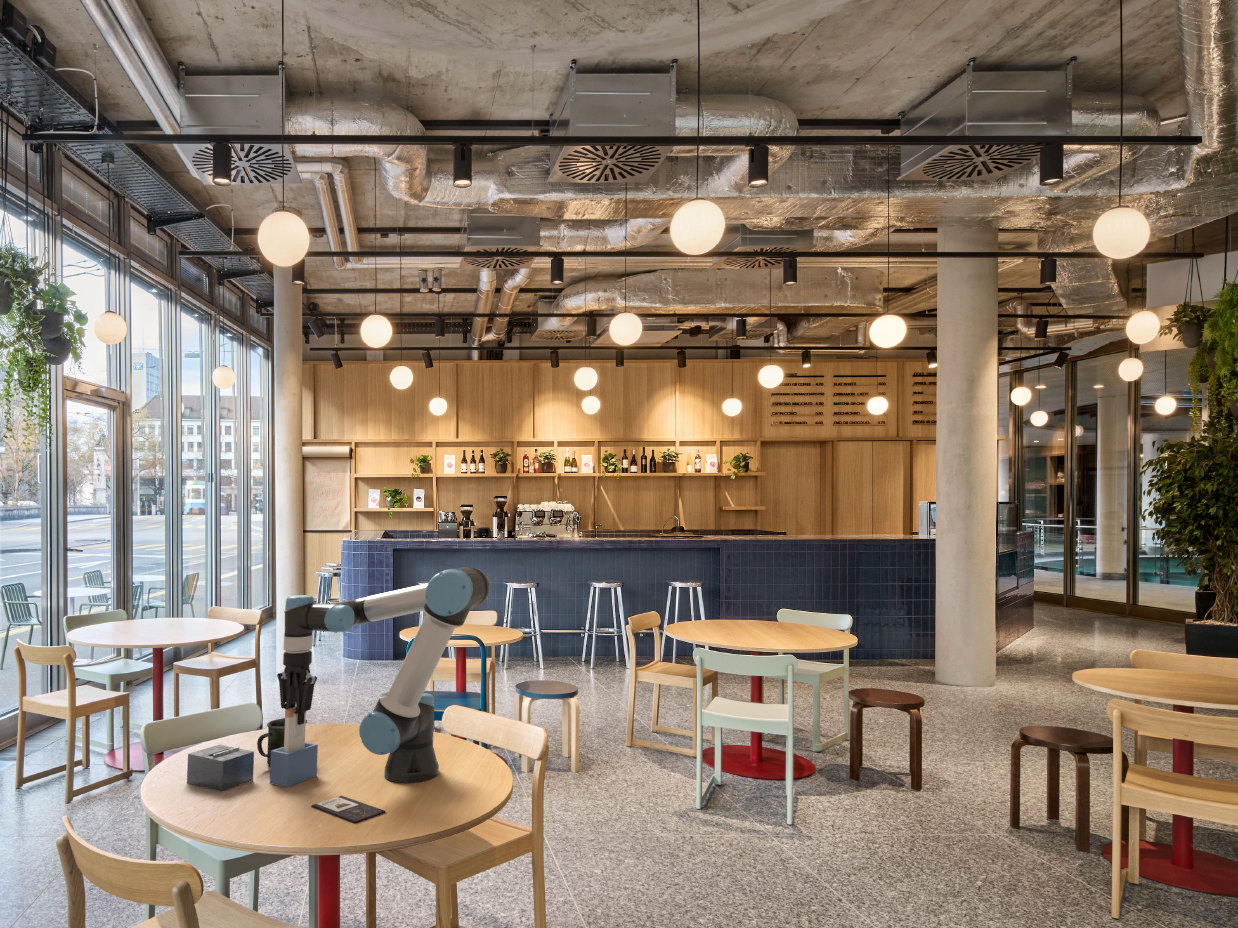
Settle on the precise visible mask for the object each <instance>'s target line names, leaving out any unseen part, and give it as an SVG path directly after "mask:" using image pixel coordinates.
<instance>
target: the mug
mask: <svg viewBox="0 0 1238 928" xmlns="http://www.w3.org/2000/svg"><path fill="white" fill-rule="evenodd" d="M307 723H308V721H307V719H306V724H307ZM266 727H267V730H268V732H266V733H263V734H260V736H259V737H258V738H257V741H256V746H257V748H256V749H257V751H258V753H259V755H260V756H262V757H263V758H266V759H267V760H266V761H267V762H266V763H267V765H268V766H269V767H270V761H271V751H272V750H275V749H278V748H281V747H284V736H285V717H284V718H277V719H273V720H270V721H269V722H268V723H267V724H266ZM266 738H267V753H265V752H264V749H263V745H262V744H263V741H264V739H266Z"/></svg>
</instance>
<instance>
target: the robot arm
mask: <svg viewBox="0 0 1238 928" xmlns="http://www.w3.org/2000/svg"><path fill="white" fill-rule="evenodd" d="M490 591H491V583H490V579H489V577H488V575H487V574H486V573H485V572H484V571H483V570H482V569H480V568H477V567H475V566H464V567H459V568H449V569H445V570H442V571H440V572H438V573H436V574H435V575H433V577H431V578H430V580H429V581H428V582H426V583H422V584H418V585H414V586H413V585H412V586H409V587H405V588H401V589H396V590H390V591H386V592H383V593H378V594H372V595H368V596H364V597H359V598H355V599H350V600H346V601H339V602H334V603H315V599H314V596H313V595H309V594H295V595H290V596H288V597H286V600H285V609H284V633H283V634H284V635H283V651H284V652H283V656H282V658H283V659H282V661H283V662H282V663H283V664H282V665H283V666H284V670H283V671H282V672H279V673H277V674H276V676H277V679H278V683H279V684H278V685H279V696H280V698H279V699H280V700H279V701H280V708H281V709H284V710H286V709H290V708H294V707H296V711H295V712H294V723H293V737H297V736H300V735H303V724H304V716H305V711H306V712H308V711H310V710H311V708H312V704H313V703H312V702H313V697H314V690H315V685H316V682H317V680H318V676H316V675H315V676H313V675H312V674H311V669H310V665H311V664H312V663H313V662H312V661H313V659H312V658H313V657H312V656H313V652H312V649H313V633H314V631H320V632H328V633H329V632H330V633H346V632H348V631H349V630H350V629H351V628H352V627H354V626H360V625H365V624H369V623H373V622H376V621H377V622H378V621H382V620H387V619H391V618H397V617H400V616H407V615H409V614H410V615H411V614H415V613H420V612H424V613H425V615H424V618H423V620H422V623H421V624H420V627H419V629H418V630H417V633H416V635H415V637H414V639H413V641H412V643H411V646H410V647H409V649H408V651H407V654H406V656H405V658H404V660H403V661H402V664H401V666H400V667H399V670H398V672H397V674H396V676H395V678H394V681H393V682H392V684H391V686H390V688H389V690H388V691H387V692H383V693H382V694H381V695H380V696H379V698H378V700H377V702H376V704H375V707H374V709H373V710H372V711H371V712H369V713H367V715H365V716H364V717H363V718H362V720H361V722H360V725H359V729H358V730H359V732H358V733H359V737H360V739H361V743H362V745H363V746H364V748H366V750H367V751H368V752H370V753H372V754H375V755H377V756H384V755H388V757H387V759H386V764H385V767H384V771H383V772H384V778H385V779H386V780H388V781H390V782H394V783H419V782H423V781H429V780H432V779H433V778H435V777H437V776H438V774H439V773H440V772H439V769H440V767H439V762H438V761H437V755H436V752H435V748H434V723H435V722H434V721H435V720H434V719H435V698H434V696H433V694H431V693H427V692H425V690H426V689H427V686H428V684H429V683H430V681H431V678H432V676H433V674H434V672H435V671H436V669H437V666H438V664H439V662H440V660H441V658H442V655H443V654H444V652H445V649H446V648H447V645H448V643H449V641H450V639H451V638H452V635H453V633H454V631H455V629H457V628H458V629H459V628H460V627H462V626H463V625H464V624H465V622H466V619H467V617H468V615H469V613H470V611H471V610H472V609H476V608H478V607H479V606H481V605H482V604H483V603H485V602H486V601H487V599H488V597H489V595H490Z"/></svg>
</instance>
